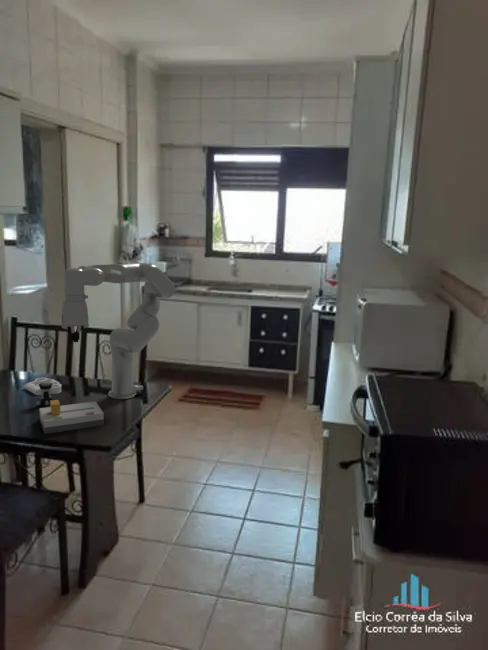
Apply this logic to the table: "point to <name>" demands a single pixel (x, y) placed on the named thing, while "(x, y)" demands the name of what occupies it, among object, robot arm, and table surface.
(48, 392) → the push button
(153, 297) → the robot arm
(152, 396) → the table surface
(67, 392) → the table surface
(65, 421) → the switch panel
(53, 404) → the lever
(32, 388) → the knuckle duster
